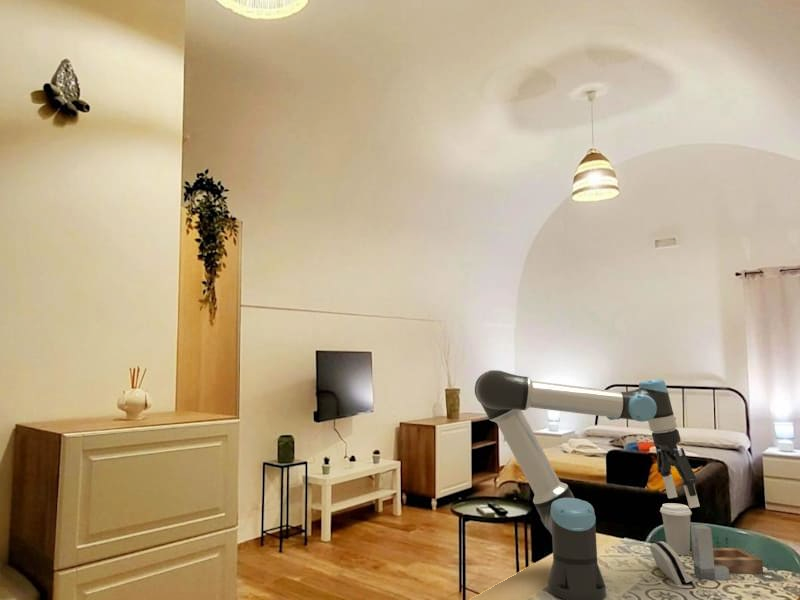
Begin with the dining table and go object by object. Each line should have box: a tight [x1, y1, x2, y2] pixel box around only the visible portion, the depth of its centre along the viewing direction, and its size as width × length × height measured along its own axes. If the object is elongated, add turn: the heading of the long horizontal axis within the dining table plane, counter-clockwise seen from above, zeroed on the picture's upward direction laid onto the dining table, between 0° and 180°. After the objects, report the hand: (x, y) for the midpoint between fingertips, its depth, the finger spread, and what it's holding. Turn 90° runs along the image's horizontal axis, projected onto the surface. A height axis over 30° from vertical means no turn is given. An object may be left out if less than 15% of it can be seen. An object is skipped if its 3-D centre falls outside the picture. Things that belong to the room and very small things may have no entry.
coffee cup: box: [659, 502, 693, 556], centre depth 187 cm, size 10×10×15 cm
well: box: [690, 547, 764, 575], centre depth 173 cm, size 15×12×4 cm
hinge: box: [648, 541, 696, 586], centre depth 166 cm, size 17×5×10 cm, turn 175°
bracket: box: [690, 524, 731, 581], centre depth 165 cm, size 8×4×14 cm, turn 88°
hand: (683, 502), depth 168 cm, fingers open, 13 cm apart
